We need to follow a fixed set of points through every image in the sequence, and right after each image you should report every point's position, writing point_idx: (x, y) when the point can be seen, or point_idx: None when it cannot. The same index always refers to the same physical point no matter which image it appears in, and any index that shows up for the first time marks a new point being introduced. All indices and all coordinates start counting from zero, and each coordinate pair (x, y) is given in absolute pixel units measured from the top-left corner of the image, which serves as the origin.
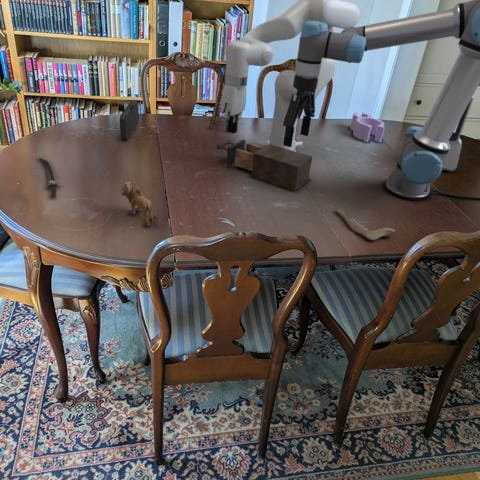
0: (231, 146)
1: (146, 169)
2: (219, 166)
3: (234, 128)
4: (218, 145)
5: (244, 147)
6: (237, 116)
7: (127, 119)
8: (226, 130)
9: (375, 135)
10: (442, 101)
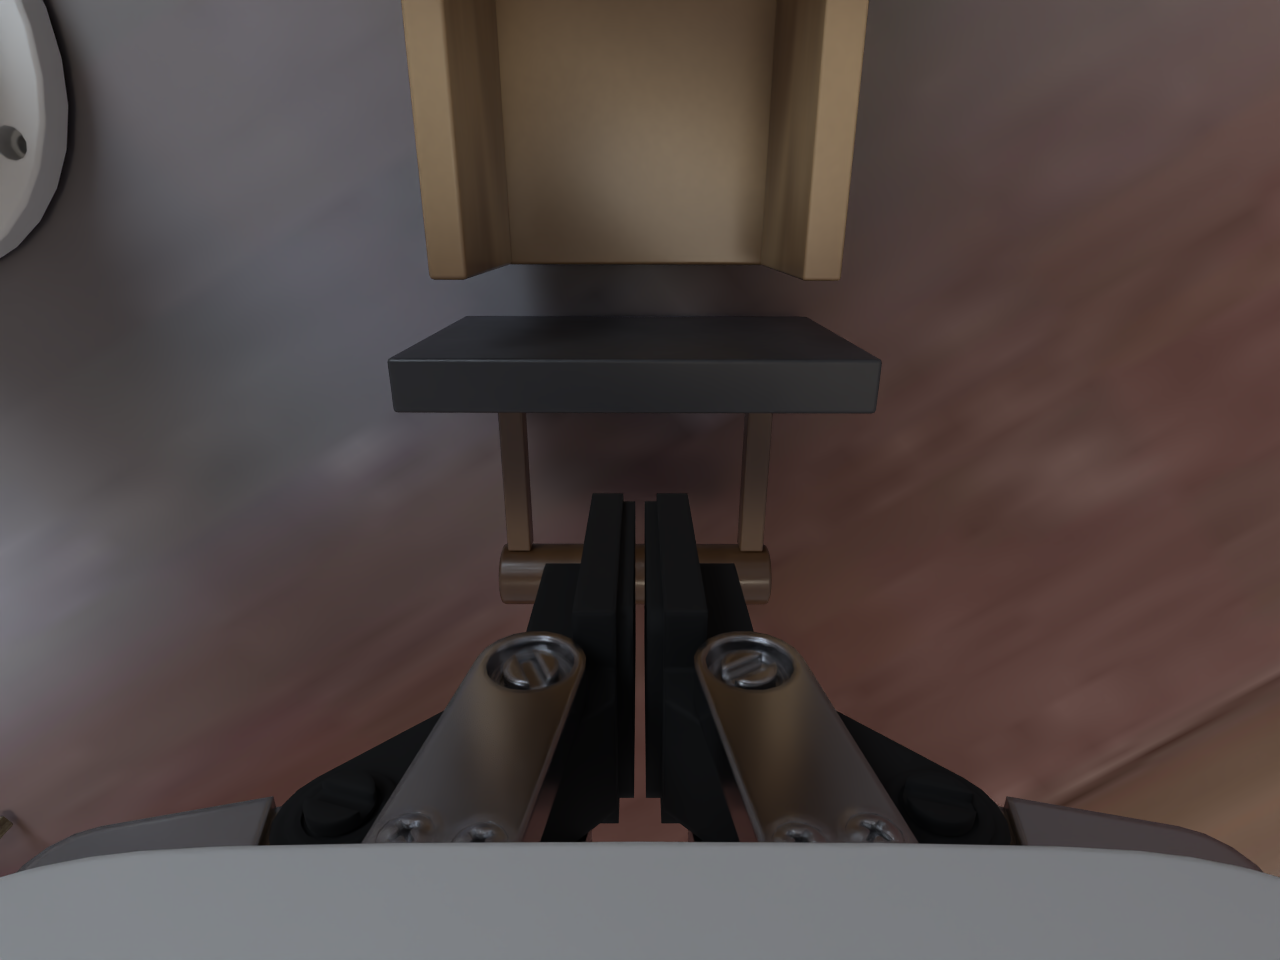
0: (817, 384)
1: (1229, 819)
2: (812, 422)
3: (692, 549)
4: (770, 586)
5: (436, 337)
6: (553, 758)
7: None
8: (5, 825)
9: None
10: None
